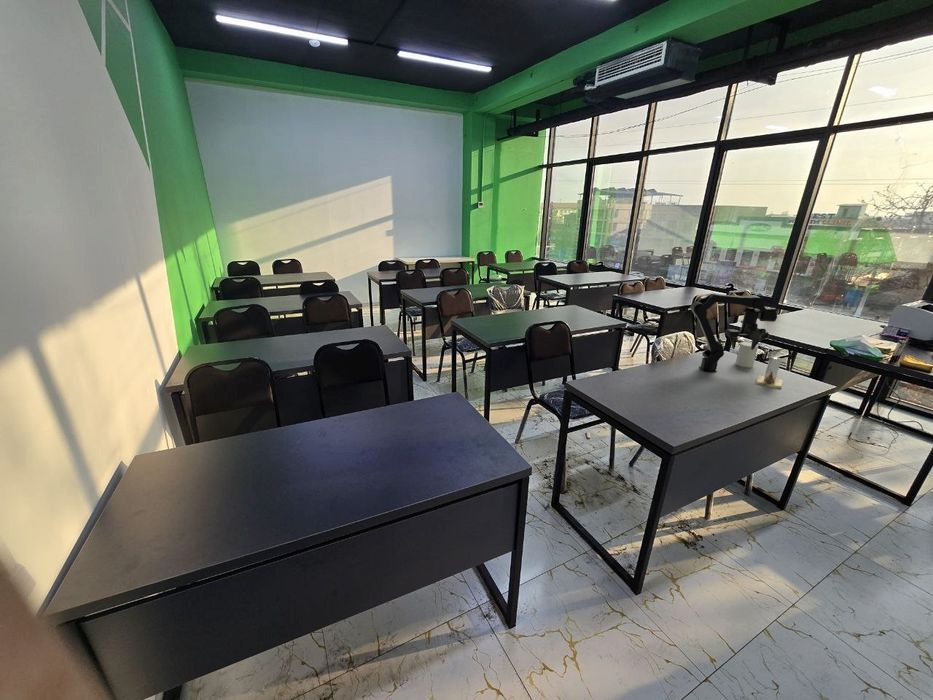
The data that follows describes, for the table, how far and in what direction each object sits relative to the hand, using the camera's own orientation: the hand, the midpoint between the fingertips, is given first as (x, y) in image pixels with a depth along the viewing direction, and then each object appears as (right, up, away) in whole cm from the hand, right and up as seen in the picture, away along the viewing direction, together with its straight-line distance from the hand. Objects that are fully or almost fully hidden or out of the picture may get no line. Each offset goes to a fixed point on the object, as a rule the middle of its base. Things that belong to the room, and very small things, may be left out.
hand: (742, 349), depth 206 cm
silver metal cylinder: (+7, -16, -9) cm, 19 cm away
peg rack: (+7, -17, -9) cm, 20 cm away
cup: (+11, -9, +15) cm, 20 cm away
